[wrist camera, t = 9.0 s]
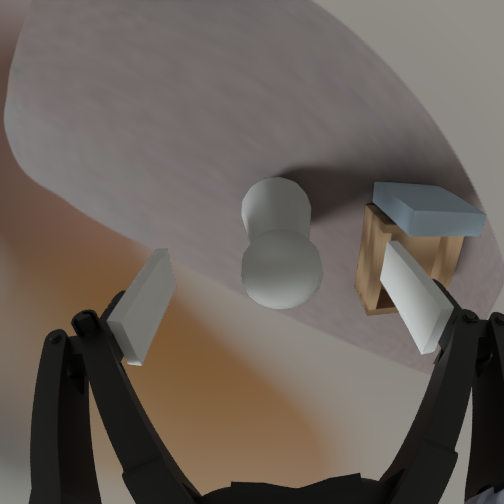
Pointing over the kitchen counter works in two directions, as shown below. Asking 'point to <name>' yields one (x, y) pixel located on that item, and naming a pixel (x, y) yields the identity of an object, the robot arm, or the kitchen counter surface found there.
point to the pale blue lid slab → (428, 210)
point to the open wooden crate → (420, 248)
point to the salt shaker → (279, 245)
